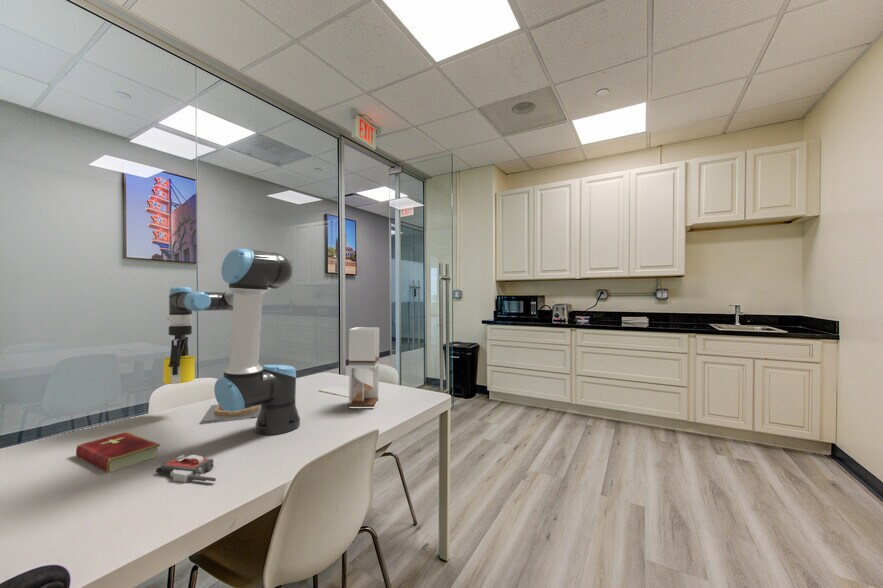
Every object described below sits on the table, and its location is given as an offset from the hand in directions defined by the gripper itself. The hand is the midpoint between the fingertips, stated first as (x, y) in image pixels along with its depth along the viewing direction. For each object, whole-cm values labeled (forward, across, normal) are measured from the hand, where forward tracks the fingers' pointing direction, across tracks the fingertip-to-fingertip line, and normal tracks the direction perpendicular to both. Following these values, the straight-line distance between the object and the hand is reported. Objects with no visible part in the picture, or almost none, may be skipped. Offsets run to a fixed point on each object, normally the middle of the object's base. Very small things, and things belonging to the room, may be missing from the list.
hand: (179, 380), depth 140 cm
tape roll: (+1, 0, 0) cm, 1 cm away
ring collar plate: (+15, +2, +21) cm, 26 cm away
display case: (+15, +13, +72) cm, 75 cm away
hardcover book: (+16, +35, -7) cm, 39 cm away
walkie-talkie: (+16, +57, +16) cm, 61 cm away
